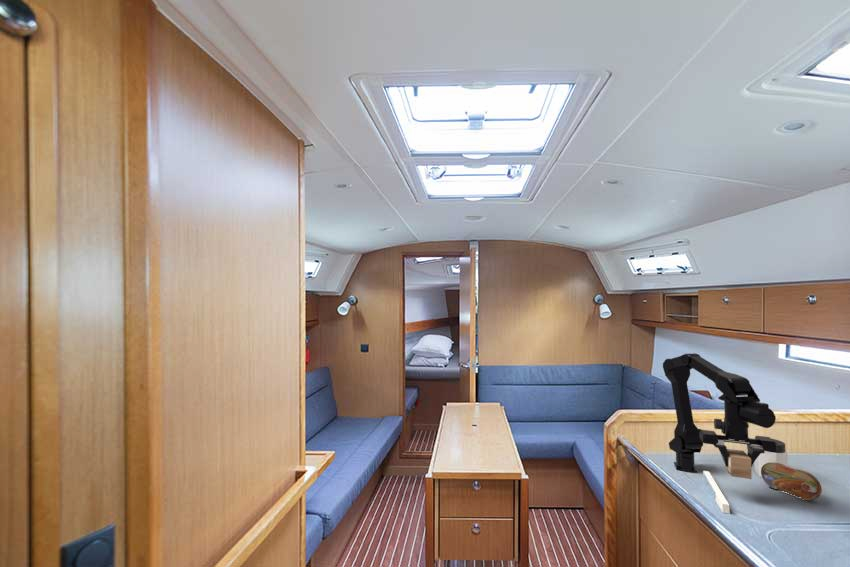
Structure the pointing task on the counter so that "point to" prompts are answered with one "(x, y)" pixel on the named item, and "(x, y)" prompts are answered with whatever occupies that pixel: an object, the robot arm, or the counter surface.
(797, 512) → the counter surface
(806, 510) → the counter surface
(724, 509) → the rail
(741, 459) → the tea box
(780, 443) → the jar
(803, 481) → the tin
